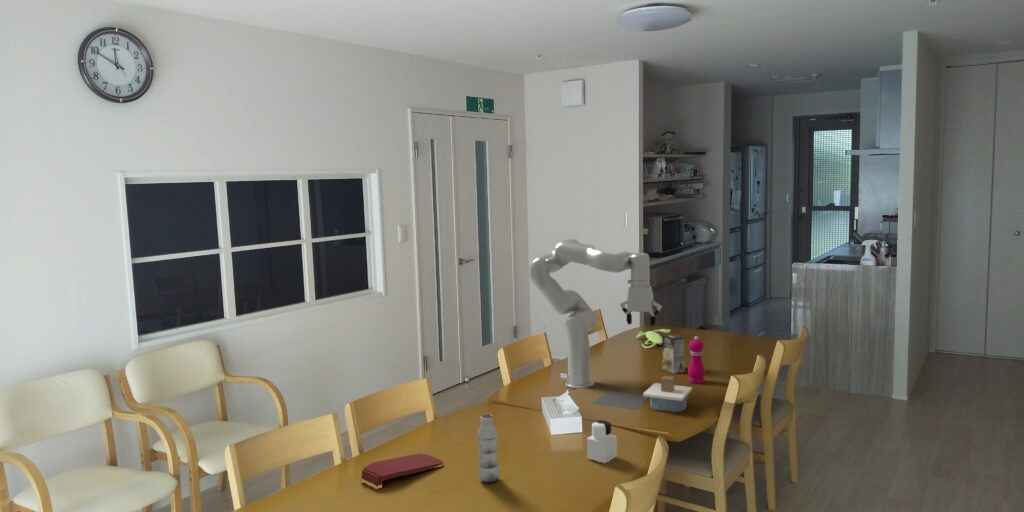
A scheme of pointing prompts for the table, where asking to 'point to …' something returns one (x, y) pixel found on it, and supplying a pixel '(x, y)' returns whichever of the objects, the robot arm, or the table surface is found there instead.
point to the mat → (621, 400)
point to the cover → (667, 390)
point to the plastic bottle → (488, 450)
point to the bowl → (668, 404)
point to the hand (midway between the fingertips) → (641, 324)
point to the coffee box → (673, 353)
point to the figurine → (653, 337)
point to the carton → (398, 467)
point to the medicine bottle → (601, 442)
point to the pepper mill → (696, 362)
